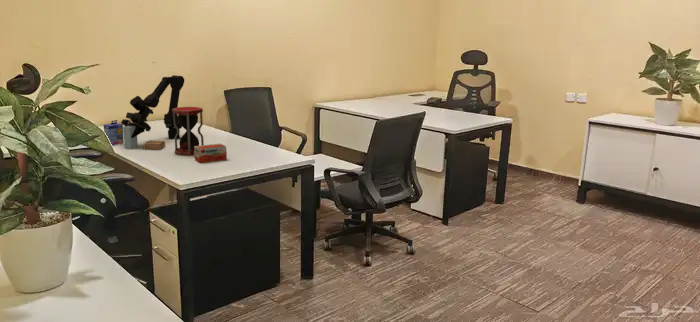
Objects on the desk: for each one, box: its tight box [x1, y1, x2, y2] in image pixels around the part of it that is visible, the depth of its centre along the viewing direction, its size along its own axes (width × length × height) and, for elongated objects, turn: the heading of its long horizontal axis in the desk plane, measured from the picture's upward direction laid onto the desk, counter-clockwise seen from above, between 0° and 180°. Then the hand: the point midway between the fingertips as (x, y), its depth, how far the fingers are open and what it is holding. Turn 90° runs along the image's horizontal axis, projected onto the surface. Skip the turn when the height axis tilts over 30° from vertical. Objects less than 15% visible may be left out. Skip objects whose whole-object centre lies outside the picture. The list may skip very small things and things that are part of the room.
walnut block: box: [143, 139, 166, 151], centre depth 318 cm, size 9×9×4 cm
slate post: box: [123, 126, 139, 150], centre depth 316 cm, size 5×5×12 cm
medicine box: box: [193, 143, 228, 164], centre depth 293 cm, size 15×8×8 cm, turn 126°
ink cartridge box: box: [103, 119, 124, 146], centre depth 324 cm, size 10×6×14 cm, turn 152°
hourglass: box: [172, 106, 205, 157], centre depth 307 cm, size 16×16×25 cm
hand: (128, 137), depth 315 cm, fingers closed on slate post, 5 cm apart
